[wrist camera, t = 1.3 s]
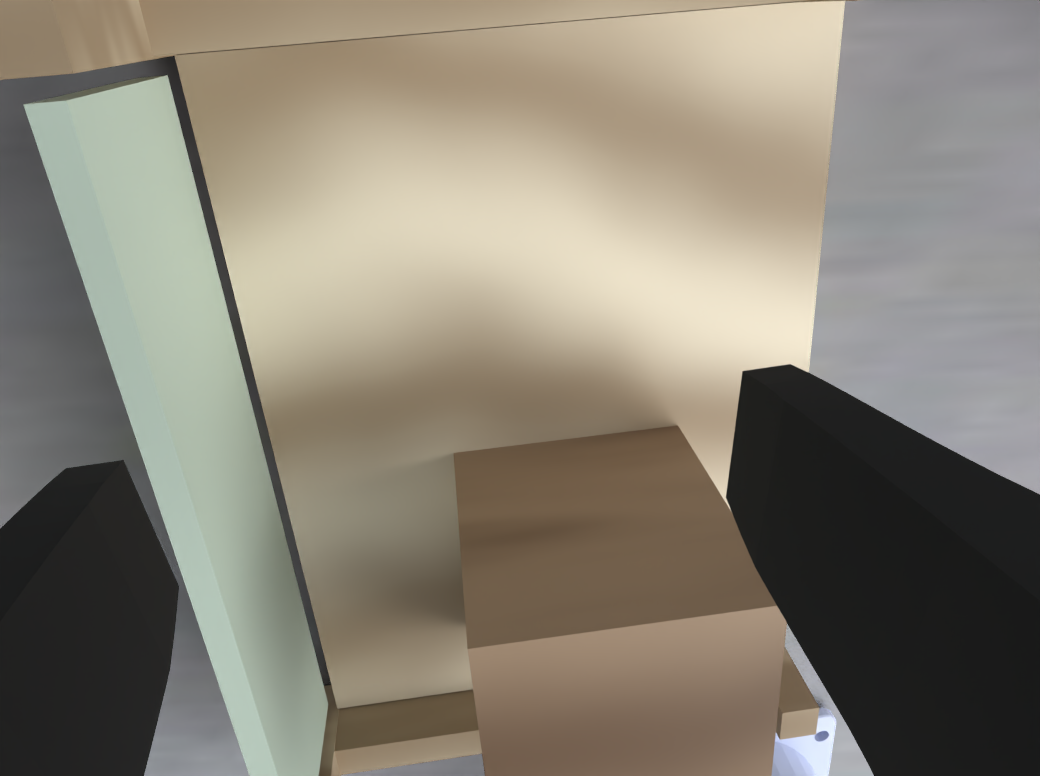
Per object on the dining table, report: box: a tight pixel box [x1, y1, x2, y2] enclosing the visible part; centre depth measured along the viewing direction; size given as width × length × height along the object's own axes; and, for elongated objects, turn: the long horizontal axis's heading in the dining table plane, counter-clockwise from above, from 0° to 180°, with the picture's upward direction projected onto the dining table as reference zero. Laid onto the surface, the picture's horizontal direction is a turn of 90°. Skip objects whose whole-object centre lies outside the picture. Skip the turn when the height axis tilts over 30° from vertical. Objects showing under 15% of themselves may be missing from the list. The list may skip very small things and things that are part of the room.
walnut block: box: [453, 426, 787, 776], centre depth 19 cm, size 6×6×7 cm
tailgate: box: [23, 75, 328, 776], centre depth 17 cm, size 18×1×5 cm, turn 4°
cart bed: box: [0, 0, 858, 776], centre depth 18 cm, size 21×15×6 cm
